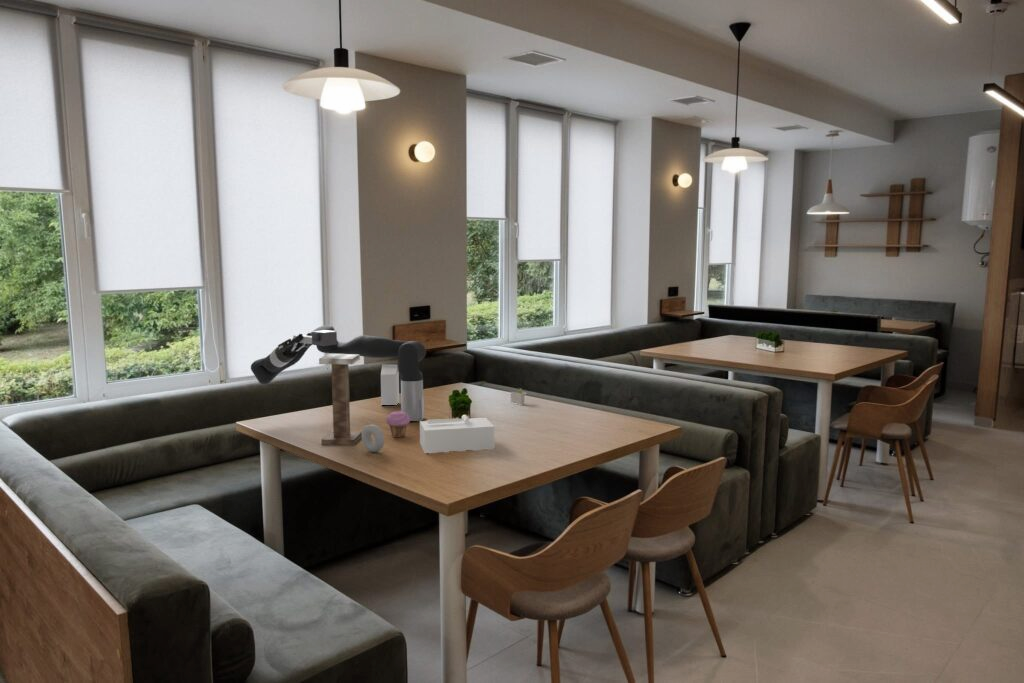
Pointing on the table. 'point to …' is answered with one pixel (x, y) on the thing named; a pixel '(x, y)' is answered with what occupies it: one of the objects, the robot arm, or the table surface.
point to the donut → (377, 434)
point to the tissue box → (456, 434)
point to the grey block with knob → (320, 338)
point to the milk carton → (389, 385)
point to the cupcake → (398, 423)
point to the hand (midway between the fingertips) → (306, 335)
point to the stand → (340, 399)
